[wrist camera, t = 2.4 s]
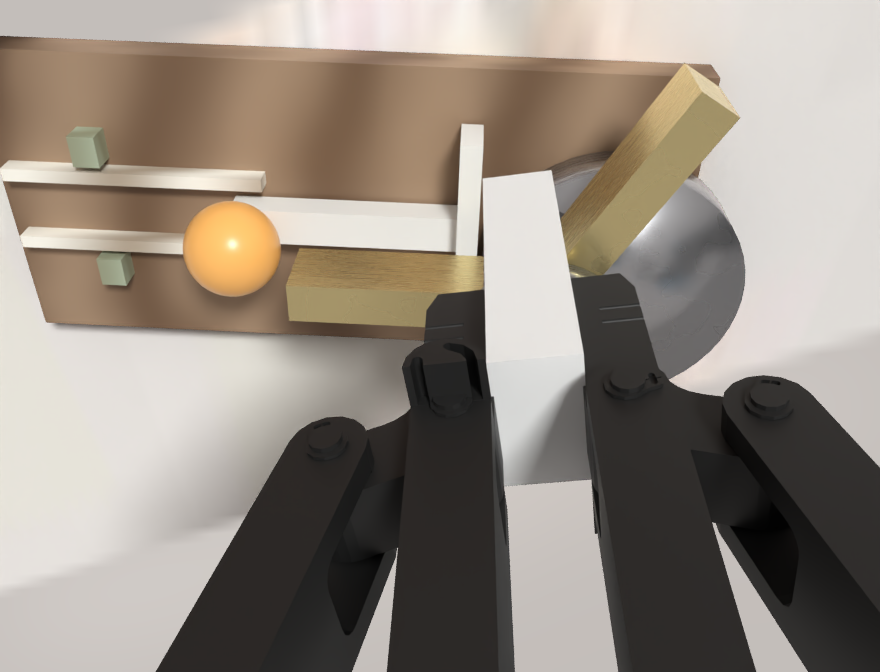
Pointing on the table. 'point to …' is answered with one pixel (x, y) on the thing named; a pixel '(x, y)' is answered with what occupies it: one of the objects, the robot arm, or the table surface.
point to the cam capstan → (585, 237)
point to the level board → (264, 155)
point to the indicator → (327, 227)
